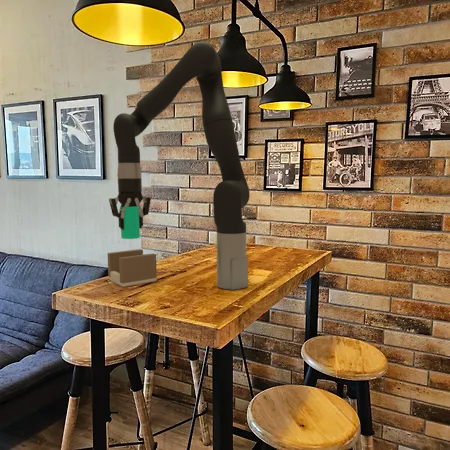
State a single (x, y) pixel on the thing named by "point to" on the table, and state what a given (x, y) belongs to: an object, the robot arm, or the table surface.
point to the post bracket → (131, 267)
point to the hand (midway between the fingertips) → (131, 228)
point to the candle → (131, 223)
